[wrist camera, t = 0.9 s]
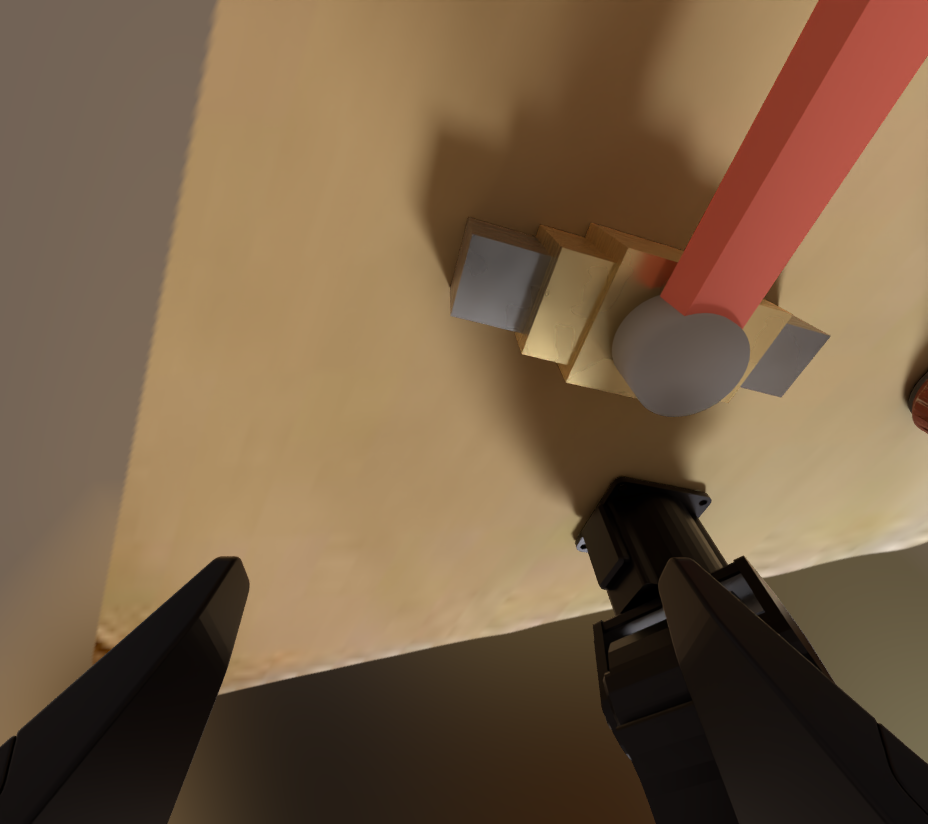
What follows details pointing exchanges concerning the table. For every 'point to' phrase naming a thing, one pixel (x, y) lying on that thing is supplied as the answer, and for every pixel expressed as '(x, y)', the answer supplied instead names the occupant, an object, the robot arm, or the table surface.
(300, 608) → the table surface
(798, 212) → the lever
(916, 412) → the grenade
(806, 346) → the valve pipe
